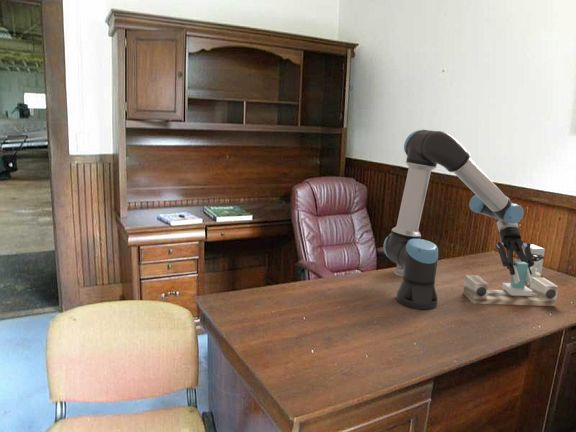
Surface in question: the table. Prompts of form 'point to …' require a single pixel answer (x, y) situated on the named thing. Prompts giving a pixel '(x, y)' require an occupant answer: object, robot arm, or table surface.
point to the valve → (533, 269)
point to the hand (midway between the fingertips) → (523, 282)
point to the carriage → (520, 287)
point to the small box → (537, 251)
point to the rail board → (480, 294)
